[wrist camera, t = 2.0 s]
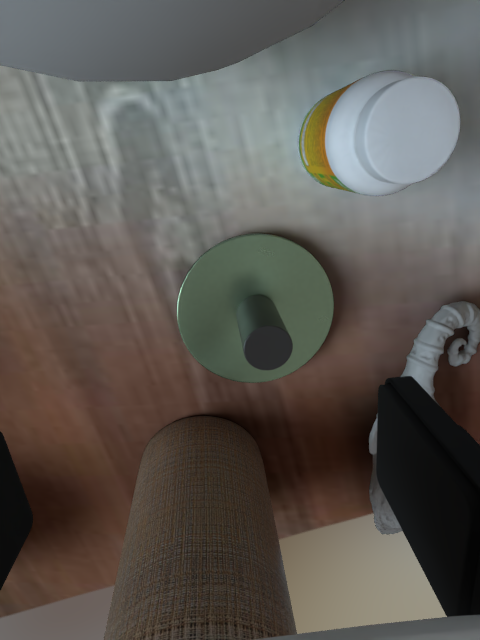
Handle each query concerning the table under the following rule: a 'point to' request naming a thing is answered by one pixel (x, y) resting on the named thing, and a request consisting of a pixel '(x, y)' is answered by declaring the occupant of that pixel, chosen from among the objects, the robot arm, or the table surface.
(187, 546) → the planter
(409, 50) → the table surface
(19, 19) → the vase
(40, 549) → the table surface
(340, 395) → the table surface
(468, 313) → the seahorse
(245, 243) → the lid
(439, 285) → the table surface
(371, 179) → the supplement bottle
